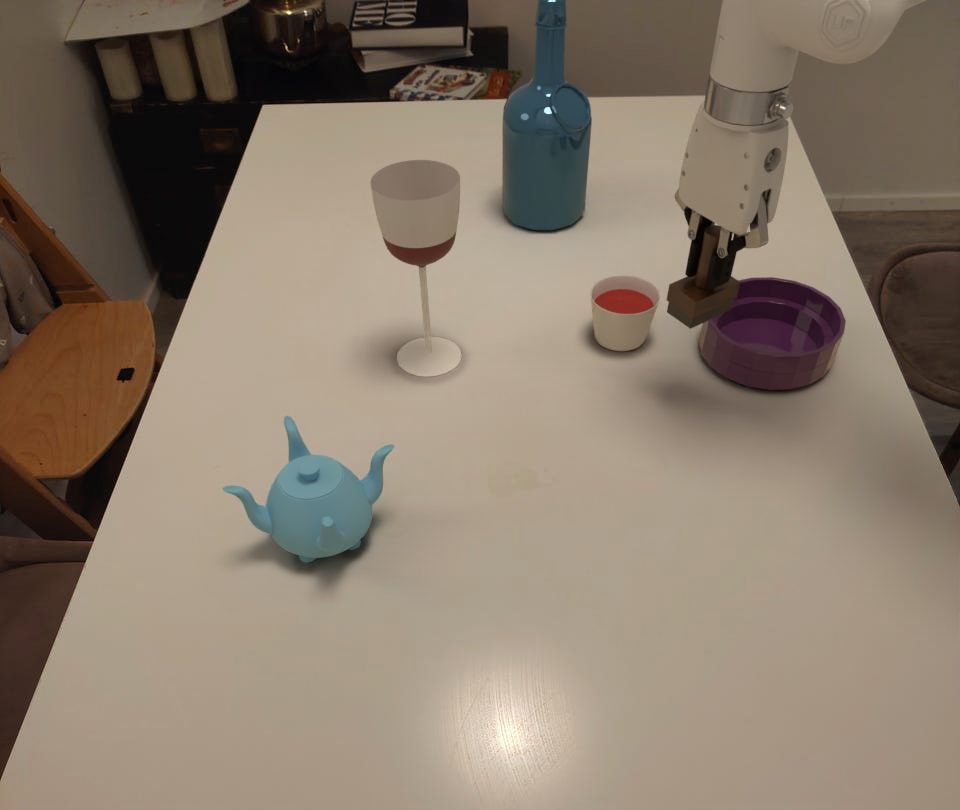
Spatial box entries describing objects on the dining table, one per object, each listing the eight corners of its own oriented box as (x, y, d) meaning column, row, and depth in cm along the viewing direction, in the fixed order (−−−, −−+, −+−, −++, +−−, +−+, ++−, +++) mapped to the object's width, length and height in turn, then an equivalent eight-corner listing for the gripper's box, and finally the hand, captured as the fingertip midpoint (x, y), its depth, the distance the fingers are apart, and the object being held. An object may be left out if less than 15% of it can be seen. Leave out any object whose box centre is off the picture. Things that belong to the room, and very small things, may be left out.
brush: (707, 292, 101) (724, 212, 93) (733, 310, 99) (754, 229, 91) (664, 312, 98) (678, 231, 91) (690, 330, 96) (707, 250, 89)
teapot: (243, 555, 93) (218, 487, 85) (307, 478, 100) (289, 408, 92) (345, 592, 90) (329, 525, 82) (403, 509, 97) (394, 440, 89)
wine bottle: (484, 212, 135) (480, -17, 111) (543, 183, 141) (552, -42, 116) (544, 245, 129) (555, 10, 105) (604, 213, 134) (627, -17, 110)
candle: (596, 312, 119) (600, 269, 114) (659, 324, 117) (667, 281, 112) (578, 350, 114) (582, 307, 109) (644, 362, 112) (651, 319, 107)
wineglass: (387, 340, 116) (366, 165, 97) (460, 331, 117) (452, 155, 98) (396, 382, 111) (375, 205, 92) (472, 372, 111) (466, 194, 93)
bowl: (761, 299, 120) (772, 263, 115) (859, 360, 111) (874, 322, 107) (671, 344, 114) (678, 307, 110) (766, 411, 106) (778, 374, 101)
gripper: (839, 117, 78) (784, 300, 93) (713, 60, 86) (681, 237, 101) (782, 140, 75) (734, 325, 90) (658, 79, 83) (633, 258, 98)
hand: (707, 277), depth 95 cm, fingers closed on brush, 2 cm apart
